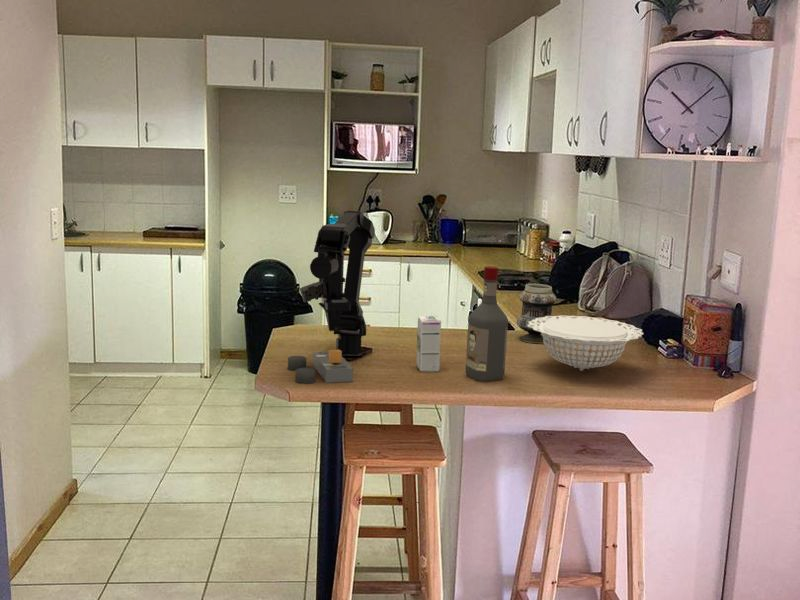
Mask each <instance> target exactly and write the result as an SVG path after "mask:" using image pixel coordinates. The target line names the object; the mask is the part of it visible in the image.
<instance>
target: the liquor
mask: <svg viewBox="0 0 800 600" xmlns="http://www.w3.org/2000/svg"><path fill="white" fill-rule="evenodd" d="M483 268H484V269H483V279H484V280H483V293H482V299H481V303H480V304H479V305H478V306H476V308H475V309H474V310H473V311H472V312H471V313H470V314H469V316H468V322H467V323H468V324H467V338H466V339H467V340H466V354H465V355H466V356H465V357H466V358H465V370H464V371H465V374H466V377H468V378H470V377H471V379H472V380H475V381H477V382H485V383H487V381H488V382H494V381H495V380H497V381H501V380H502V379H503V377H504V376H505V370H506V368H505V367H506V356H507V354H506V353H507V343H508V342H507V339H508V324H509V320H508V315H506V313H505V312H504V311H503V310H502V308H501V307H500V306H499V304H498V300H497V290H498V289H497V285H498V279H499V267H497V266H484V267H483ZM495 382H496V381H495Z"/></svg>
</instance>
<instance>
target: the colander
mask: <svg viewBox="0 0 800 600" xmlns="http://www.w3.org/2000/svg"><path fill="white" fill-rule="evenodd" d="M549 317H551V318H549ZM537 321H538V322H537ZM532 322H533V323H532ZM539 322H540V323H539ZM543 322H544V323H543ZM528 323H529V325H528V327H530V328H533V330H535V331H539V332H541V333H542V334H541V335H542V336H543V342H544V343H543V344H544V348H545V350H546V351H547V353H548V354H549V356H551V358H553V359H554V360H556V361H558V362H559V363H562V364H565V365H569V366H570V367H573V368H574V369H576V368H578V369H579V371H580V372H581V371H584V369H588V370H589V369H590V368H591V369H594V368H600V367H606V366H609V365H611V364H613V363H615V362H616V361H617V360H619V357H621V356H622V354H623V352H624V351H625V347H626V345H627V343H628V342H630V341H634V340H639V338H642V336H643V335H644V332H643V329H641V328H639V327H636V326H635V325H633V324H628V323H626V322H621V321H619V320H614V319H613V320H612V319H607V318H603V317H591V316H585V315H580V316H579V315H578V316H577V315H551V316H545V317H541V318H536V319H535V320H532V321H529V322H528ZM538 325H539V326H538ZM545 341H546V342H545ZM547 341H548V343H547ZM564 348H565V349H564ZM591 350H592V351H591ZM596 351H598V352H596Z"/></svg>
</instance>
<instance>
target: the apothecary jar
mask: <svg viewBox="0 0 800 600" xmlns="http://www.w3.org/2000/svg"><path fill="white" fill-rule="evenodd" d="M519 300H520V301H521V302H522V306H521V315H519V316H518V317H517V319H516V325H517V327H519V329H521V330H523V331H524V332H526V333H527V334H526V333H525V334H523V335H521V336H519V338H518V340H520V341H522V342H525V343H528V344H544V342H543V336H542V333H541V332H539V331H535V330H533V328H530V327H528V325H529V323H528V322H529V321H532V320H535V319H536V318H541V317H545V316H552V311H553V310H552V307H553V305H555V303H556V302H557V296H556V295H555V293H554V292H553V287H552V286H551V285H547V284H541V283H526V284H525V288H524V290H523V291H521V292H520V293H519ZM549 318H552V317H549ZM537 322H538V321H537ZM532 323H533V322H532ZM539 323H540V322H539ZM543 323H544V322H543ZM538 326H539V325H538ZM545 342H546V341H545ZM547 343H548V341H547Z"/></svg>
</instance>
